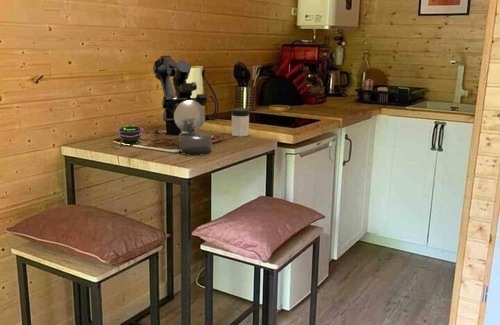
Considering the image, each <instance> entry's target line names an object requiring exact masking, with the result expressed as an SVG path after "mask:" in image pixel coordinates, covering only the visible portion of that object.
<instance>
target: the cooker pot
mask: <svg viewBox="0 0 500 325" xmlns="http://www.w3.org/2000/svg"><path fill="white" fill-rule="evenodd" d="M178 136H179V150H180V149H181V150H182V152H183V153H185V154H184V155H186V154H190V155H189V156H201V155H200V154H204V155H208V154H210V153H212V152H213V150H212V148H213V147H212V146H213V145H212V144H213V142H212V139H213V138H212V134H211V133H207V132H201V131H194V132H182V133H180V134H179V135H178Z"/></svg>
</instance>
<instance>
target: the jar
mask: <svg viewBox="0 0 500 325" xmlns="http://www.w3.org/2000/svg"><path fill="white" fill-rule="evenodd" d="M231 136H233V137H238V138H239V137H240V138H241V137H248V136H250V109H249V108H247V107H246V108H245V107H236V108H231Z"/></svg>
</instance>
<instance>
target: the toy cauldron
mask: <svg viewBox="0 0 500 325" xmlns="http://www.w3.org/2000/svg"><path fill="white" fill-rule="evenodd" d="M131 120H132V122H134V121H135V119H133V118H132V119H131ZM125 123H128V121H125ZM138 125H140V123H137V126H136V125H134V124H132V125H126V126H122V127H119V128H117V129H116V130H115V131H116V133H117V134H118V135H119V138H120V140H121V141H120V142H121V143H122V142H124V143H125V144H130V145H129V146H133V145H135V144H136V145H142V144H143V143H142V142H143V141H142V140H141V137H142V134H143V133H144V128H143V127H140V126H138ZM136 142H137V143H136ZM121 143H120V144H118V146H120V147H122V146H123V147H129V146H128V145H123V144H121Z"/></svg>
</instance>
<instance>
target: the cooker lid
mask: <svg viewBox="0 0 500 325" xmlns="http://www.w3.org/2000/svg"><path fill="white" fill-rule="evenodd" d="M205 120H206V111H205V109H204V106H203V107H202V106H201V104H199V103H198V102H196V101H193V100H186V101H181V103H180V104H179V105H178V106H177V107H176V109H175V112H174V121H175V123H176V125H177V126H178V127H179V128H180V129H181V130H182V132H183V131H184V132H185V133H189V132H197V131H198V130H199V129H201V127H202V126H203V125H204V123H205Z"/></svg>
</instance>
